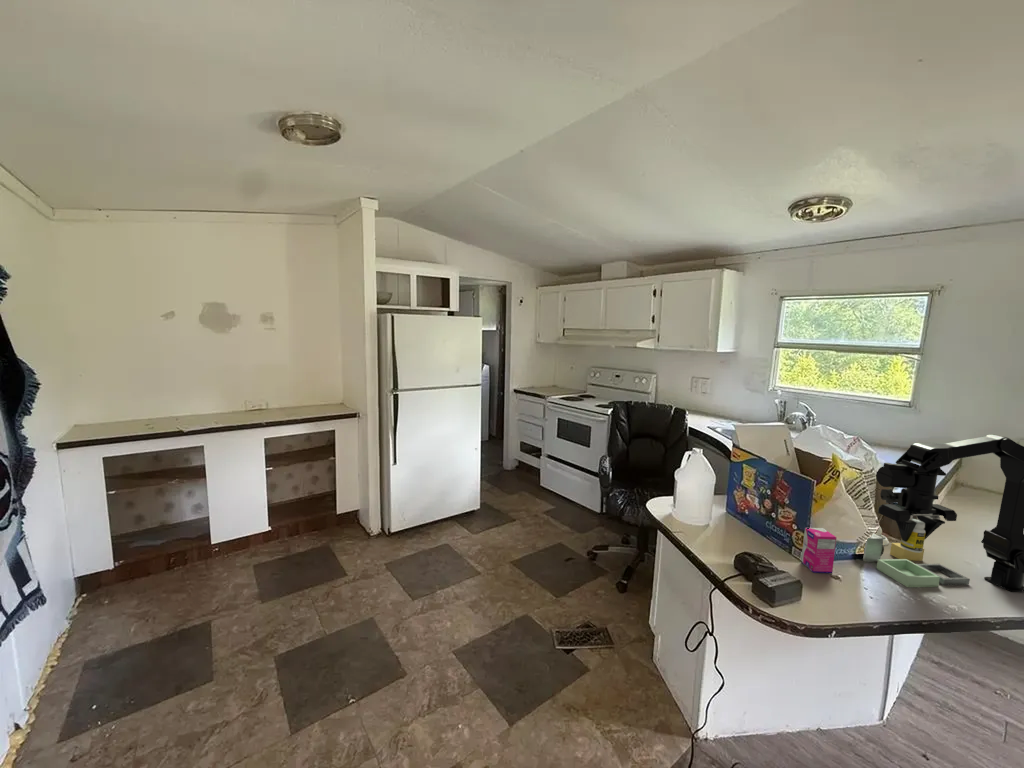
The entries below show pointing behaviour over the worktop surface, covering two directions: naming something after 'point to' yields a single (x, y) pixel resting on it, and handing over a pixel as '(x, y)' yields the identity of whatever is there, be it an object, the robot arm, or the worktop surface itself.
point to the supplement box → (818, 550)
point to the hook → (885, 540)
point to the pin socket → (956, 577)
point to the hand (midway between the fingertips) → (912, 540)
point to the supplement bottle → (915, 538)
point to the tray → (908, 573)
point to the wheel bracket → (873, 549)
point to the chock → (905, 553)
